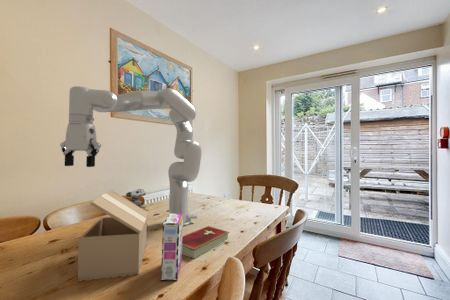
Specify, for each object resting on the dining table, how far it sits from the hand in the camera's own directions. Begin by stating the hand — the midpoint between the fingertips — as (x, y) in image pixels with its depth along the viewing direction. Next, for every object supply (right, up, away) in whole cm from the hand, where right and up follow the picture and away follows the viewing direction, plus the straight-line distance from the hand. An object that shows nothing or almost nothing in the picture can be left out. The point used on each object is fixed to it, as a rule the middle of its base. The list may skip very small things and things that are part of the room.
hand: (79, 166), depth 80 cm
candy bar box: (+38, -32, -14) cm, 51 cm away
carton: (+18, -31, -8) cm, 37 cm away
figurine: (+4, -32, +40) cm, 51 cm away
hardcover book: (+45, -32, +5) cm, 56 cm away
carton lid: (+20, -14, -8) cm, 26 cm away
